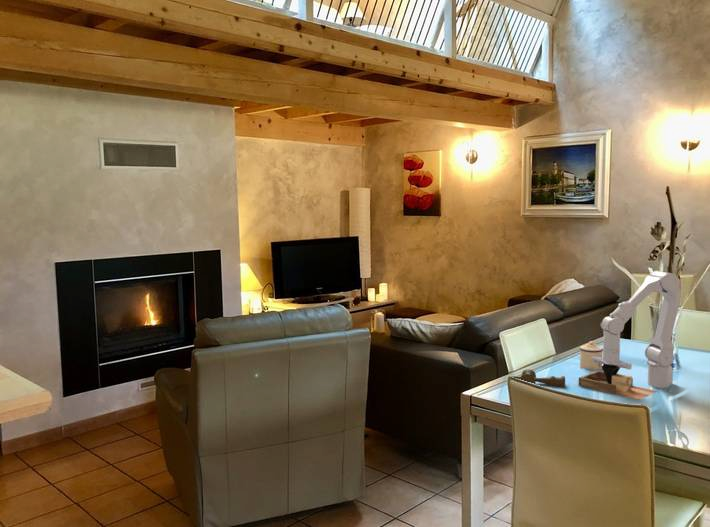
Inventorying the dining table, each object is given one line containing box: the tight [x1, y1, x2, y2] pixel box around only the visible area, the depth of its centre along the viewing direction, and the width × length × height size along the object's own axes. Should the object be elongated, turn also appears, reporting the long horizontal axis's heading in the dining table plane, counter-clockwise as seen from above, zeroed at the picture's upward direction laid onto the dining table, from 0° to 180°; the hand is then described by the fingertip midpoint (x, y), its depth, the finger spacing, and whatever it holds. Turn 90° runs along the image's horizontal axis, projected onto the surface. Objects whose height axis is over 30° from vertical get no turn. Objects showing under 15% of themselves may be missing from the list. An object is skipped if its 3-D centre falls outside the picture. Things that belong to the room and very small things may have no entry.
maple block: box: [612, 372, 633, 392], centre depth 218 cm, size 5×5×5 cm
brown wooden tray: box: [578, 370, 658, 401], centre depth 219 cm, size 14×23×4 cm, turn 40°
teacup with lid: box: [579, 340, 603, 370], centre depth 250 cm, size 12×9×12 cm
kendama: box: [511, 368, 566, 389], centre depth 227 cm, size 6×10×20 cm
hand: (610, 384), depth 221 cm, fingers closed
